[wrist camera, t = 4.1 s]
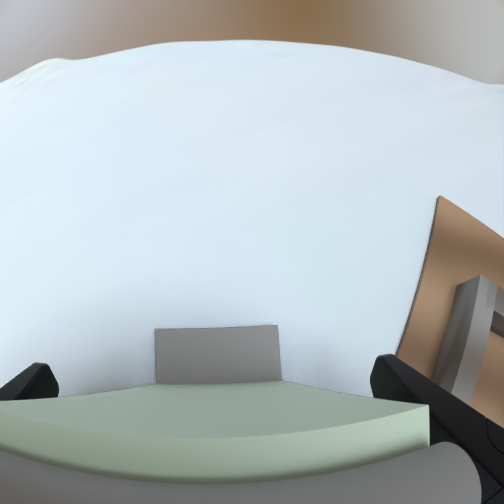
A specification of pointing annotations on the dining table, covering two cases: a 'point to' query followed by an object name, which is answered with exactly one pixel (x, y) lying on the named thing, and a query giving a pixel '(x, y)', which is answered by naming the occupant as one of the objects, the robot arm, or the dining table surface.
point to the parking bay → (460, 312)
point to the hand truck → (226, 437)
